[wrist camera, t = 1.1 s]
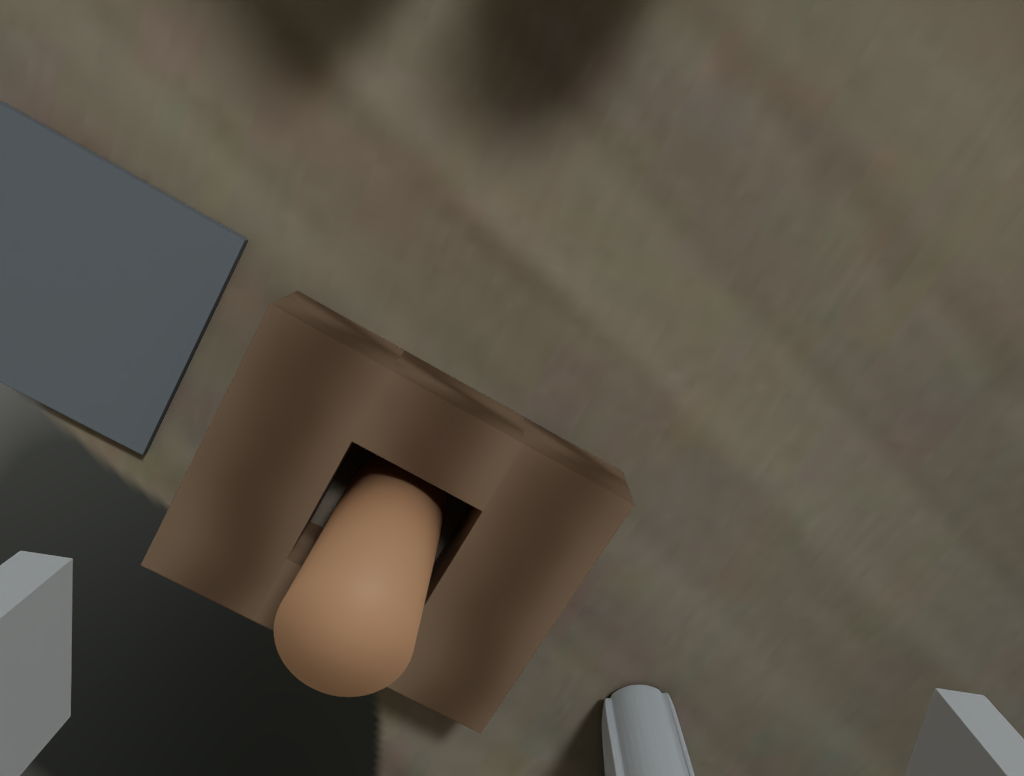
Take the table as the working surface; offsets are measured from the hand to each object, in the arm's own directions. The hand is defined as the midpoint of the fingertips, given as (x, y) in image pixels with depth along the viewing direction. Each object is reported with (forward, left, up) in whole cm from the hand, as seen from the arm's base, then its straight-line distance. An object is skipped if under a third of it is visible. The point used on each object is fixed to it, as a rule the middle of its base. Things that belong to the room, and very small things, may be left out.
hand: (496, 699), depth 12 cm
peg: (-1, -10, -26) cm, 27 cm away
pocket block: (-1, -10, -26) cm, 27 cm away
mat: (-19, -8, -26) cm, 33 cm away
